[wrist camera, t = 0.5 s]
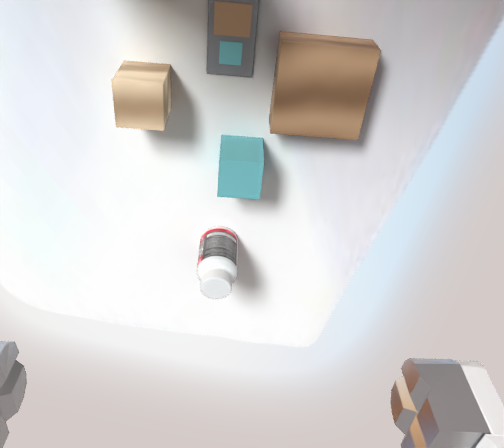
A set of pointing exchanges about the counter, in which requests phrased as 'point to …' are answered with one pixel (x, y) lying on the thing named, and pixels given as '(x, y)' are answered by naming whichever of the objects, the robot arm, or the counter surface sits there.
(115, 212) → the counter surface
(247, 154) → the teal block
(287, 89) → the walnut plinth
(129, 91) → the birch block
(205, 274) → the pill bottle
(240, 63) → the card
